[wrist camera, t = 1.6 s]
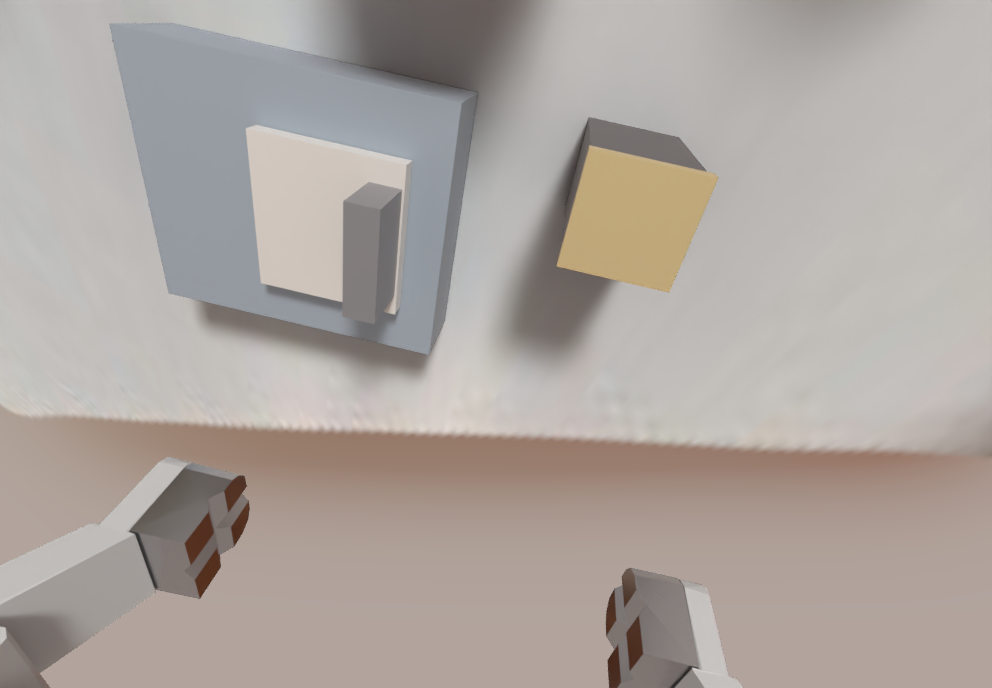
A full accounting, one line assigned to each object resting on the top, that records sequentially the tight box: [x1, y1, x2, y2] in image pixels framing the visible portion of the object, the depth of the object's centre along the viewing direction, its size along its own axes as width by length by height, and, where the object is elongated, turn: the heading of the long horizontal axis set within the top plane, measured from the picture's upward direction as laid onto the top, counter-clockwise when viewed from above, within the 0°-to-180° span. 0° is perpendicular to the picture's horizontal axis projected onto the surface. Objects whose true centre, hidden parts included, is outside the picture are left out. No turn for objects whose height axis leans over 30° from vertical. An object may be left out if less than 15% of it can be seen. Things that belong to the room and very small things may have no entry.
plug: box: [557, 117, 718, 292], centre depth 20 cm, size 4×4×7 cm
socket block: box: [110, 23, 478, 355], centre depth 24 cm, size 14×12×4 cm
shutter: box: [246, 125, 412, 324], centre depth 21 cm, size 7×7×3 cm
